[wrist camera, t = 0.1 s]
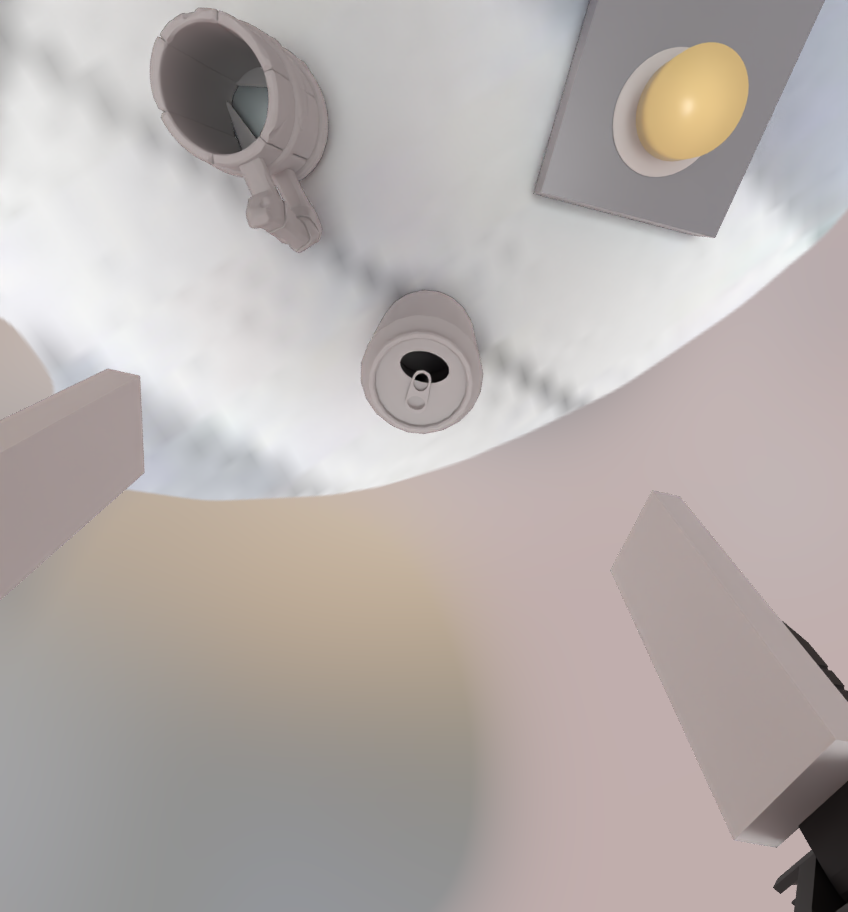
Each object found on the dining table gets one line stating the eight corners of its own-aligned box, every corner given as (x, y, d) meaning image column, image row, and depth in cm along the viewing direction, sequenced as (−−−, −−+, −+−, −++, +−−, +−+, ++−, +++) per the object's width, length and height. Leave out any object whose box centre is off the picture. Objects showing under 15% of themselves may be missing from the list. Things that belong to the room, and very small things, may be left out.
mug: (301, 26, 30) (223, -72, 20) (373, 224, 35) (342, 232, 24) (196, 79, 32) (70, 13, 21) (280, 262, 37) (212, 285, 26)
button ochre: (659, 42, 26) (675, 30, 24) (746, 67, 26) (767, 57, 25) (621, 149, 28) (633, 145, 26) (701, 171, 29) (718, 168, 27)
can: (485, 302, 37) (502, 340, 27) (459, 391, 41) (464, 456, 30) (390, 277, 37) (368, 305, 26) (372, 369, 40) (345, 429, 29)
